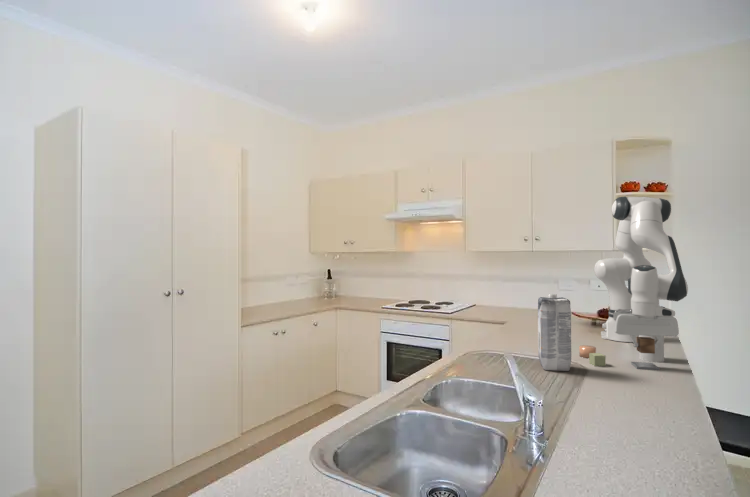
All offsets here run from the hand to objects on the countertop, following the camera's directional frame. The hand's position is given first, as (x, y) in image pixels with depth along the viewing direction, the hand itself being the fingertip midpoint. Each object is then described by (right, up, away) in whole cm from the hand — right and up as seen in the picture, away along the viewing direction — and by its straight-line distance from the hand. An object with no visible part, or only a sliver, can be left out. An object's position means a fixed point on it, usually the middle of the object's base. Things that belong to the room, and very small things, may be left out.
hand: (645, 347), depth 154 cm
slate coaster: (0, -7, 0) cm, 7 cm away
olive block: (-16, -8, +4) cm, 18 cm away
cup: (+9, -7, +11) cm, 16 cm away
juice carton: (-34, -8, 0) cm, 34 cm away
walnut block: (0, -2, 0) cm, 2 cm away
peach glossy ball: (-13, -8, +16) cm, 22 cm away
